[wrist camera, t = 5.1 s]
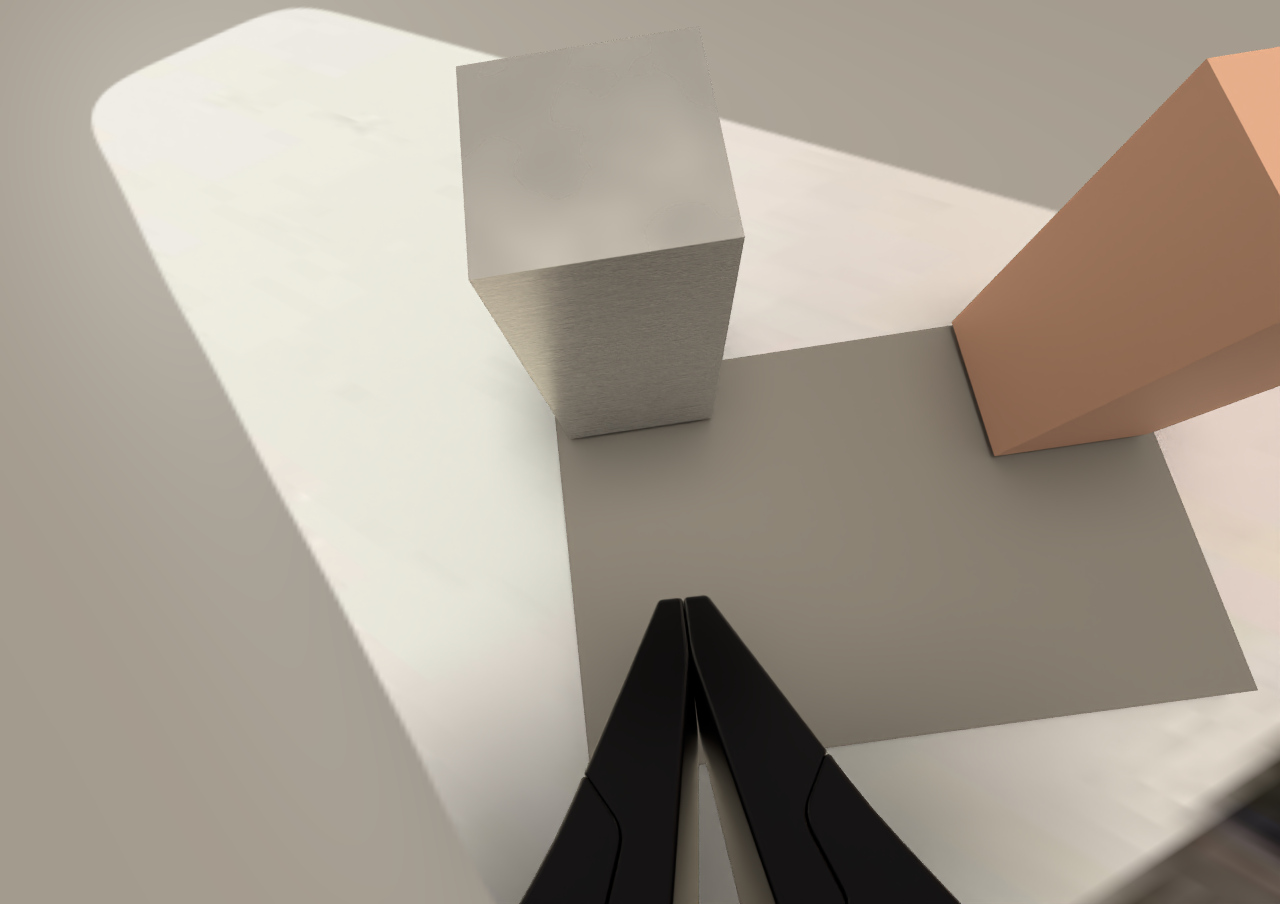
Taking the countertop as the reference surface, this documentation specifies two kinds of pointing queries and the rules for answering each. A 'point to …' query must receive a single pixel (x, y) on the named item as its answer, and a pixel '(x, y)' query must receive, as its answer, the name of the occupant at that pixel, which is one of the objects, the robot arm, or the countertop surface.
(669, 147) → the brushed grey block
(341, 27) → the countertop surface
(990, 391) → the peach orange rectangular block
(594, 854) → the robot arm
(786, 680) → the thin grey base plate
